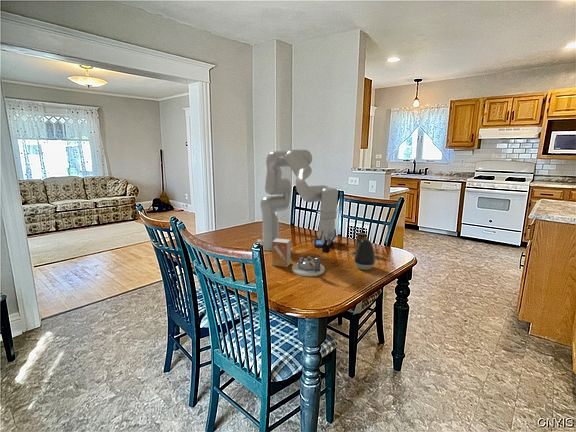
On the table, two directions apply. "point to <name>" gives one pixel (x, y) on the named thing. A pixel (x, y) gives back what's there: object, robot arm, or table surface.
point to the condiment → (360, 237)
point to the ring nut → (309, 264)
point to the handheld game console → (318, 241)
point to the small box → (281, 252)
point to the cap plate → (307, 273)
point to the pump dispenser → (364, 255)
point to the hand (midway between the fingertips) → (325, 252)
